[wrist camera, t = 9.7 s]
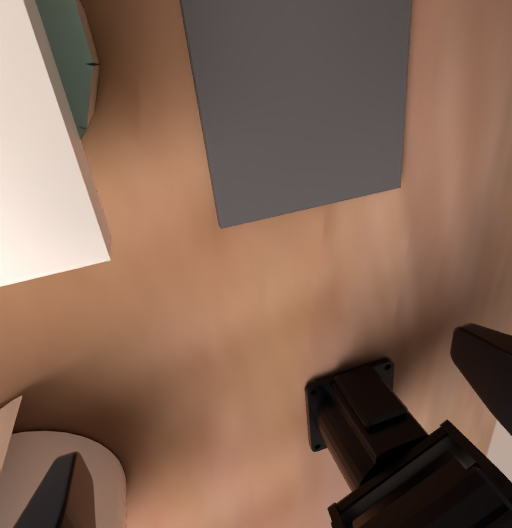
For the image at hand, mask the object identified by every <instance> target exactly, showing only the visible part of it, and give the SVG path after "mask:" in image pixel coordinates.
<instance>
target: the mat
mask: <svg viewBox="0 0 512 528" xmlns="http://www.w3.org/2000/svg"><path fill="white" fill-rule="evenodd" d="M180 5H181V11H182V17H183V23H184V28H185V34H186V40H187V46H188V51H189V57H190V63H191V69H192V74H193V80H194V86H195V92H196V97H197V103H198V109H199V115H200V120H201V126H202V132H203V137H204V143H205V149H206V155H207V160H208V166H209V172H210V178H211V183H212V189H213V195H214V201H215V206H216V212H217V218H218V224H219V226H220V228H221V229H222V228H227V227H231V226H235V225H240V224H244V223H248V222H253V221H257V220H261V219H266V218H270V217H275V216H279V215H283V214H288V213H292V212H296V211H301V210H305V209H309V208H314V207H318V206H322V205H327V204H331V203H335V202H340V201H344V200H348V199H353V198H357V197H361V196H366V195H370V194H375V193H379V192H383V191H388V190H392V189H396V188H401V173H402V156H403V139H404V123H405V106H406V89H407V72H408V56H409V39H410V22H411V5H412V0H180Z"/></svg>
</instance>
